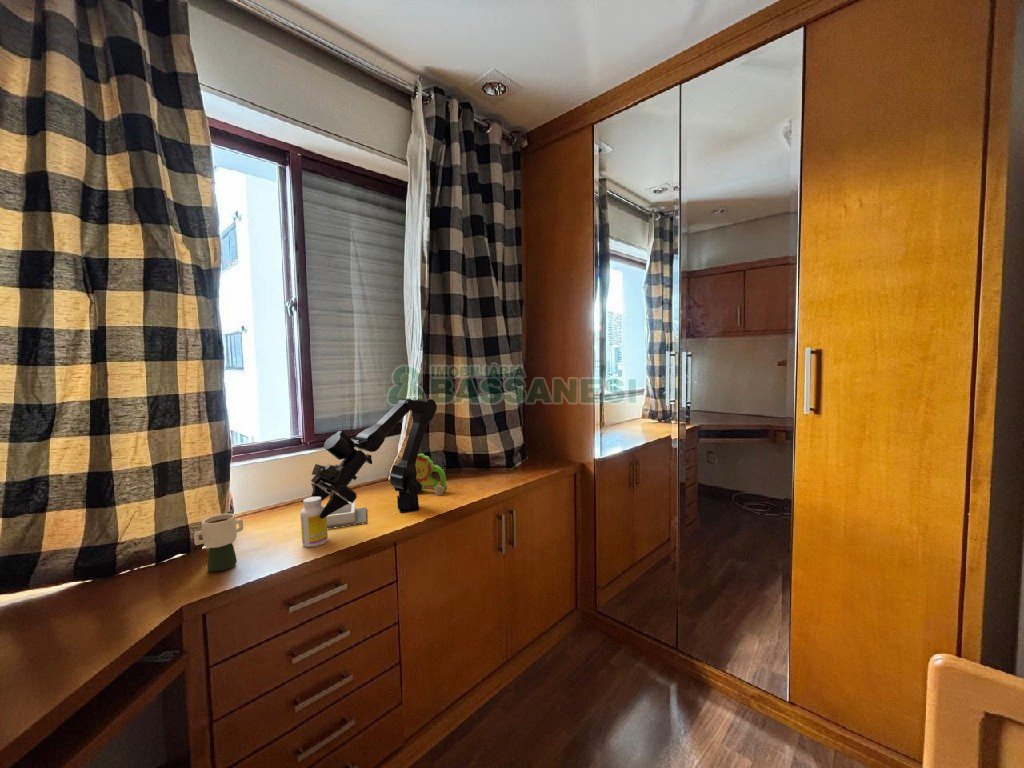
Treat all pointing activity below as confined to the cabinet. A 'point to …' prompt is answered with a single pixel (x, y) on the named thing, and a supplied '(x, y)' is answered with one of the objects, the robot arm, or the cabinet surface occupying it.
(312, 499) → the supplement bottle
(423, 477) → the toy lion
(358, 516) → the holder
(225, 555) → the white green trophy cup
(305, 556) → the cabinet surface
